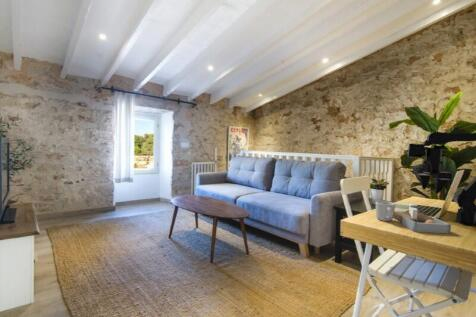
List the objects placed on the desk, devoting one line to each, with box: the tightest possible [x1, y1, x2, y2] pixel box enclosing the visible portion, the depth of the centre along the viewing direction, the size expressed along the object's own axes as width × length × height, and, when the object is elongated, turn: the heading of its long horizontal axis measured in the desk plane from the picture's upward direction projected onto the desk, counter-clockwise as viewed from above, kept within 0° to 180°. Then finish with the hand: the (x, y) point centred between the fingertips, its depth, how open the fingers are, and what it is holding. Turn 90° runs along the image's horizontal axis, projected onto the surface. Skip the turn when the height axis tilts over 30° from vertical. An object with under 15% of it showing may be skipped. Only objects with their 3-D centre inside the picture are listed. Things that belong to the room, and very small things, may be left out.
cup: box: [375, 200, 397, 222], centre depth 117 cm, size 11×8×8 cm
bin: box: [401, 217, 452, 234], centre depth 108 cm, size 14×8×4 cm, turn 87°
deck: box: [393, 210, 433, 224], centre depth 118 cm, size 14×13×3 cm
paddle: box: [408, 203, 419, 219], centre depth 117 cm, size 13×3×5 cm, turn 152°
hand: (430, 191), depth 123 cm, fingers open, 9 cm apart
